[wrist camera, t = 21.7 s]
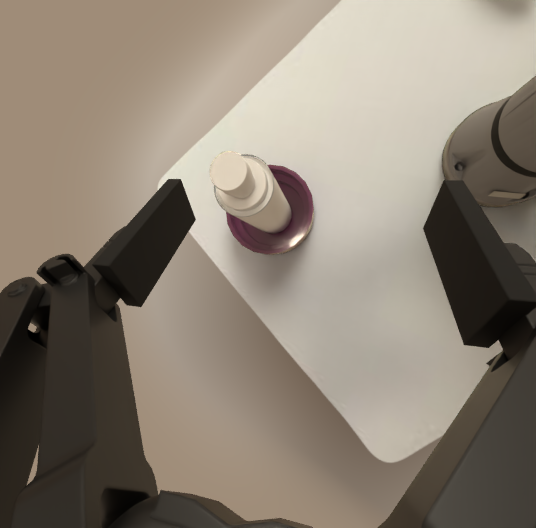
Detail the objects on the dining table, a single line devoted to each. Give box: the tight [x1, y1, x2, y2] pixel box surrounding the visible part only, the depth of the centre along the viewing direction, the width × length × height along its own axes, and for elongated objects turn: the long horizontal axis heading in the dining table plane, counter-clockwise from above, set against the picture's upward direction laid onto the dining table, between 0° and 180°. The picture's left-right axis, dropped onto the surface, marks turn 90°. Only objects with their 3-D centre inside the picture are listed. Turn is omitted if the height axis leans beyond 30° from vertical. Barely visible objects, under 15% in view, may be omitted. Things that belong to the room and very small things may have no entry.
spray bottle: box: [210, 151, 292, 234], centre depth 33 cm, size 7×7×25 cm
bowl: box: [226, 165, 314, 255], centre depth 44 cm, size 14×14×6 cm
